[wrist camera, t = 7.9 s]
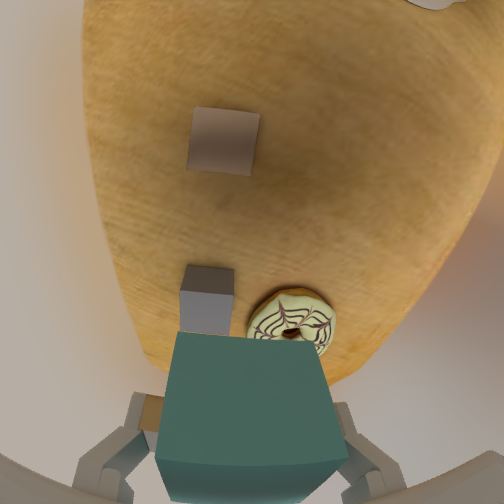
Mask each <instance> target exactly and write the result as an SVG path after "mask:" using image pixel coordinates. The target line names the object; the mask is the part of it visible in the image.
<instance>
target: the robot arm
mask: <svg viewBox="0 0 504 504" xmlns="http://www.w3.org/2000/svg"><path fill="white" fill-rule="evenodd" d="M407 1H409V2H411V3H413V4H416V5H418V6H421V7H424V8H427V9H432V10H441V9H445V8H447V7H448V6H450V5H451V4H452V3H454V2H465V1H467V0H407ZM163 403H164V397H161V396H154V395H149V394H144V393H139V392H134V393H133V395H132V397H131V401H130V405H129V408H128V412H127V416H126V420H125V424H124V427H122V426H120V427H118V428H117V429H116V430H115V431H114V432H112V433H111V434H110V435H108V436H107V437H106V438H105V439H103V440H102V441H101V442H100V443H98V444H97V445H96V446H95V447H93V448H92V449H91V450H90V451H88V452H87V453H86V454H84V455H83V456H82V457H81V458H80V459H79V463H78V466H77V470H76V474H75V477H74V481H73V485H72V487H69V486H67V485H64V484H62V483H59V482H57V481H54V480H52V479H49V478H47V477H45V476H43V475H40V474H38V473H36V472H34V471H32V470H30V469H28V468H26V467H24V466H22V465H20V464H18V463H16V462H14V461H13V460H11V459H9V458H7V457H5V456H4V455H2V454H0V504H133V497H134V491H133V490H132V489H131V487H130V486H129V485H128V483H127V482H126V481H125V478H126V477H127V476H128V475H129V474H130V473H131V472H132V471H133V470H134V468H135V467H136V466H137V465H138V464H139V463H140V462H141V461H142V460H143V459H144V458H145V457H146V456H147V455H148V454H149V451H151V452H155V451H156V445H157V438H158V432H159V426H160V420H161V414H162V408H163ZM333 404H334V408H335V411H336V414H337V417H338V421H339V424H340V428H341V431H342V434H343V438H344V441H345V445H346V448H347V452H348V455H349V459H348V460H347V461H346V462H345V463H344V464H343V465H342V466H341V467H340V468H338V469H337V471H338V472H339V473H340V474H341V475H342V476H343V477H344V478H345V479H346V480H347V481H348V482H349V483H350V484H351V486H350V487H349V488H347V489H346V490H345V491H343V492H342V494H341V496H342V501H343V504H504V456H502V455H500V454H499V453H497V452H495V451H492V450H489V451H486V452H484V453H482V454H481V455H479V456H477V457H475V458H474V459H472V460H470V461H468V462H466V463H465V464H462V465H460V466H458V467H456V468H454V469H452V470H450V471H448V472H446V473H444V474H442V475H440V476H437V477H435V478H432V479H430V480H428V481H426V482H423V483H420V484H418V485H415V486H412V487H410V488H407V486H406V483H405V481H404V478H403V475H402V472H401V470H400V467H399V464H398V463H397V462H395V461H394V460H393V459H392V458H390V457H389V456H388V455H387V454H385V453H384V452H383V451H382V450H380V449H379V448H378V447H377V446H375V445H374V444H373V443H371V442H370V441H369V440H368V439H367V438H365V437H364V436H363V435H362V434H357V431H356V428H355V425H354V422H353V419H352V416H351V414H350V411H349V408H348V405H347V403H346V402H338V403H333Z"/></svg>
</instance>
